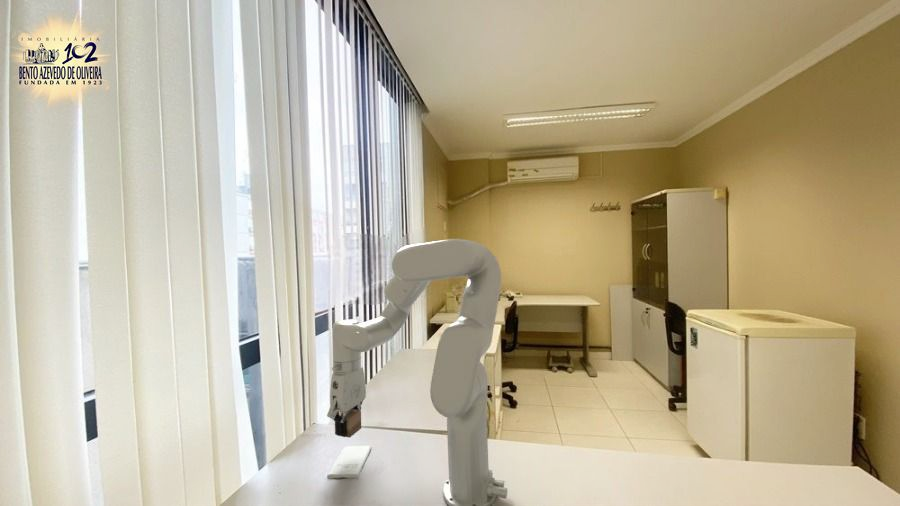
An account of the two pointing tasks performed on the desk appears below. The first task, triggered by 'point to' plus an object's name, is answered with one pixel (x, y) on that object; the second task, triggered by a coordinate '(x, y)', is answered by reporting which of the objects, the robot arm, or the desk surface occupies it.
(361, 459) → the external hard drive
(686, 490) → the desk surface
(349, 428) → the walnut block
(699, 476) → the desk surface
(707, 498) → the desk surface
